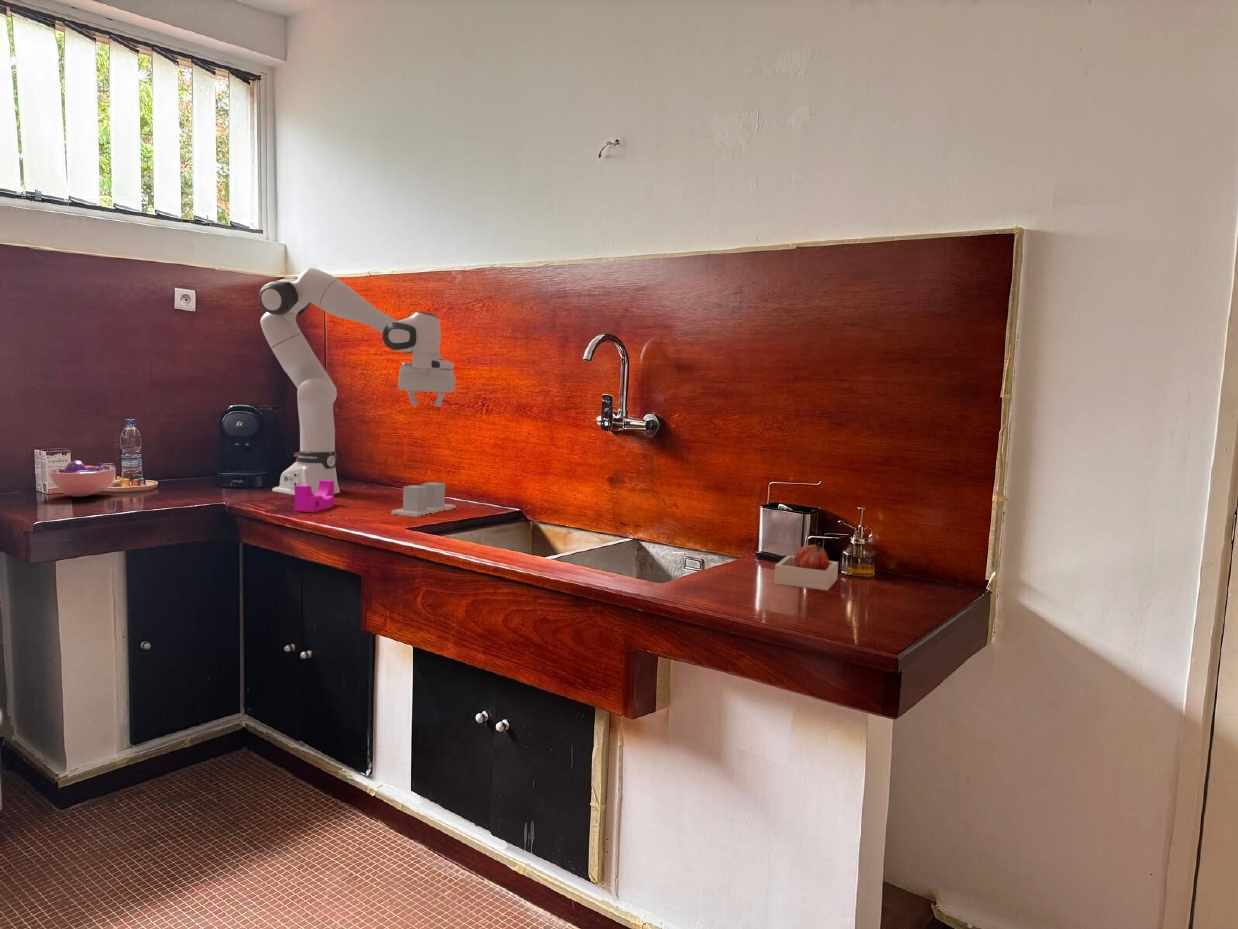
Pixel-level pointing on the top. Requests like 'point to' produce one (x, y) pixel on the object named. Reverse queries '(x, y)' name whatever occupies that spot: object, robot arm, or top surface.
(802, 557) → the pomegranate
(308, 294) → the robot arm
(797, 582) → the fruit dish
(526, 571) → the top surface
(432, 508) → the base
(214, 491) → the top surface
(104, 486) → the cell model
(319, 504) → the toy block
